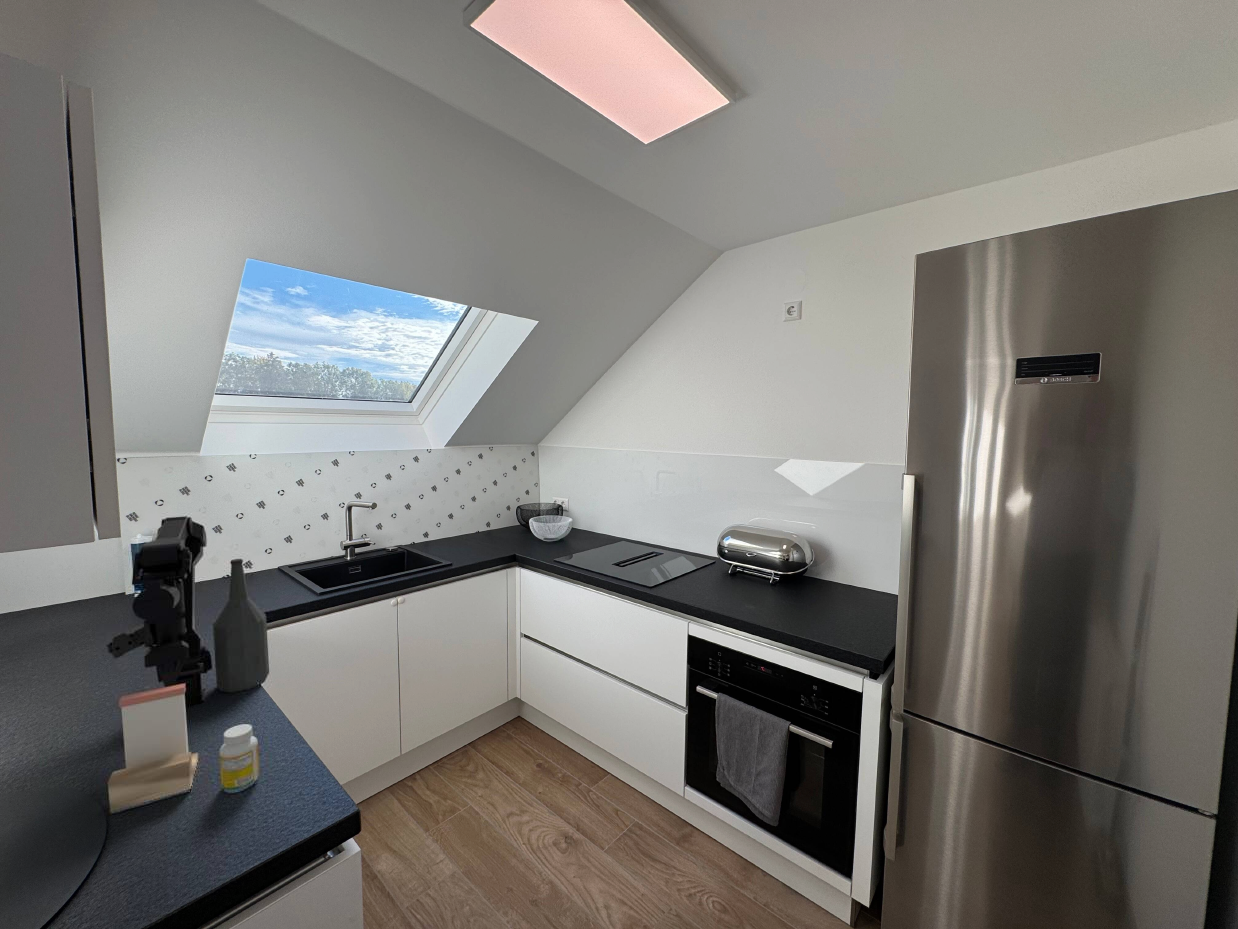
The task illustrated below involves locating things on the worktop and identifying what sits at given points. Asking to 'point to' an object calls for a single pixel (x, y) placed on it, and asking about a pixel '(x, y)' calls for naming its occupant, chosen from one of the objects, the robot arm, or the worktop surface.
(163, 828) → the worktop surface
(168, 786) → the oak key housing
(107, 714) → the worktop surface
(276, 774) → the worktop surface
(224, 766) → the supplement bottle
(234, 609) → the bottle
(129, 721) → the white red-topped panel
